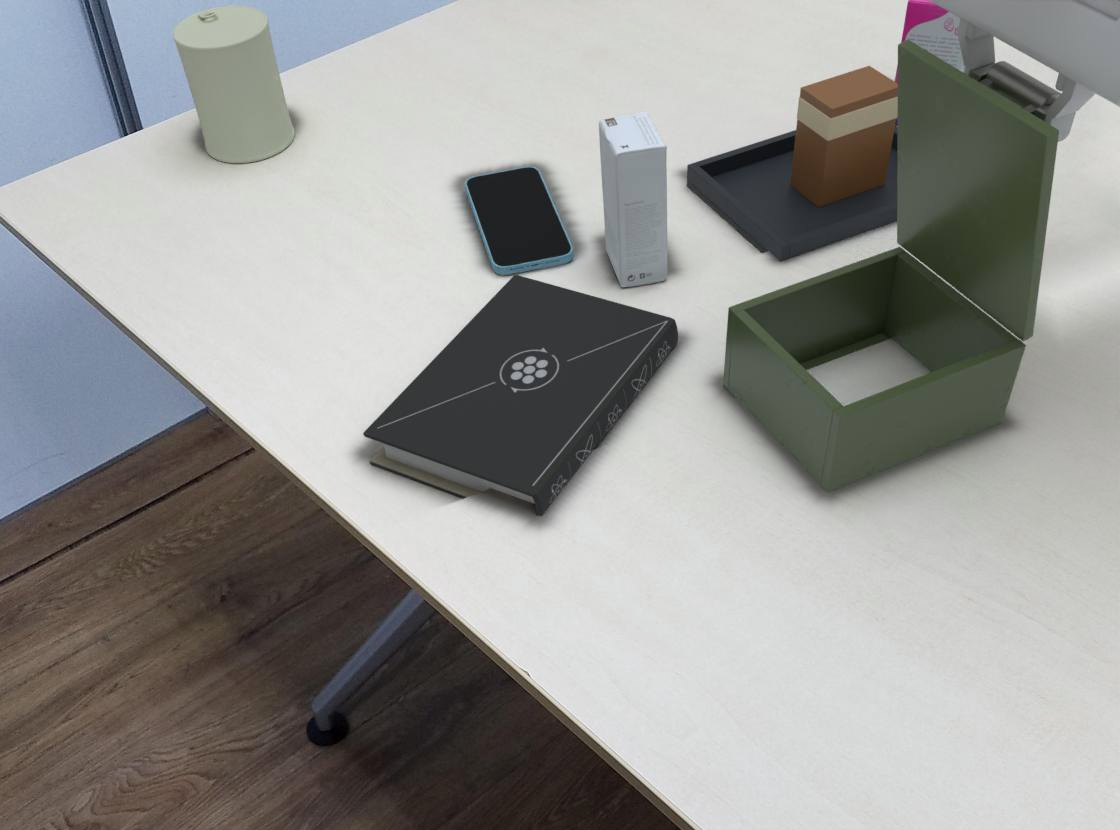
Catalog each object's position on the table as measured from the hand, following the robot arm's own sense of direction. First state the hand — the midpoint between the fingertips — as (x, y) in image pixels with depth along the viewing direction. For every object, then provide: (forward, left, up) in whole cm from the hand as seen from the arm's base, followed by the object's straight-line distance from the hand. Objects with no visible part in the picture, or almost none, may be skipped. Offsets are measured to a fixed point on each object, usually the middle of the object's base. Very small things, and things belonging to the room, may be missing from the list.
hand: (1011, 115), depth 72 cm
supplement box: (-23, -33, -21) cm, 45 cm away
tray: (-7, -26, -21) cm, 34 cm away
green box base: (+8, 0, -21) cm, 22 cm away
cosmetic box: (+13, -25, -21) cm, 35 cm away
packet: (-8, -26, -20) cm, 34 cm away
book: (+29, -13, -21) cm, 38 cm away
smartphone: (+19, -36, -21) cm, 46 cm away
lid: (+3, 0, -5) cm, 5 cm away
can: (+36, -65, -21) cm, 77 cm away
